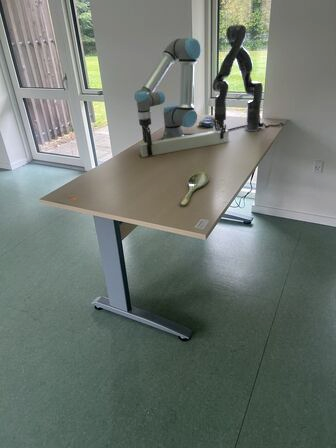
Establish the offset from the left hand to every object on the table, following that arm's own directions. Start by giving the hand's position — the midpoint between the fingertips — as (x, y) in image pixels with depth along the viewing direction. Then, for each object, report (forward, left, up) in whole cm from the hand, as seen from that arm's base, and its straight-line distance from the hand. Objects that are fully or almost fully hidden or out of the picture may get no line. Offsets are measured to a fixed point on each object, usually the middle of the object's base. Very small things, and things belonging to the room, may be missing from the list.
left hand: (148, 153), depth 221 cm
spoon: (+6, +64, -1) cm, 64 cm away
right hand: (-50, +11, +2) cm, 51 cm away
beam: (-25, +5, -1) cm, 26 cm away
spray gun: (-72, -32, -1) cm, 78 cm away
